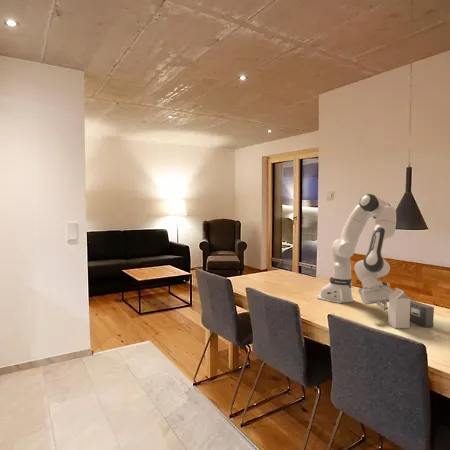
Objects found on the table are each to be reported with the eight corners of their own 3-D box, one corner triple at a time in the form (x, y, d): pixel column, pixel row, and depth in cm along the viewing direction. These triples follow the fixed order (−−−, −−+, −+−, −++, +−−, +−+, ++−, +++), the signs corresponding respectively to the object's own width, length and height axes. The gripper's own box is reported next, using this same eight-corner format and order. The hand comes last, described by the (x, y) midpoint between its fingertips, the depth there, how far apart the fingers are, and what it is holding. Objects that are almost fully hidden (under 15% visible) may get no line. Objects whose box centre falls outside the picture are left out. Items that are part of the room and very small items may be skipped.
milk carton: (401, 323, 176) (402, 287, 175) (409, 328, 169) (410, 290, 168) (388, 323, 176) (389, 287, 175) (395, 328, 169) (396, 290, 168)
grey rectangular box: (390, 314, 191) (391, 296, 190) (398, 313, 192) (399, 296, 192) (424, 327, 170) (425, 308, 169) (433, 326, 171) (433, 307, 171)
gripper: (359, 285, 184) (372, 308, 175) (390, 282, 190) (403, 304, 182) (354, 291, 188) (366, 314, 180) (383, 288, 195) (396, 310, 186)
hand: (385, 309), depth 181 cm, fingers closed
